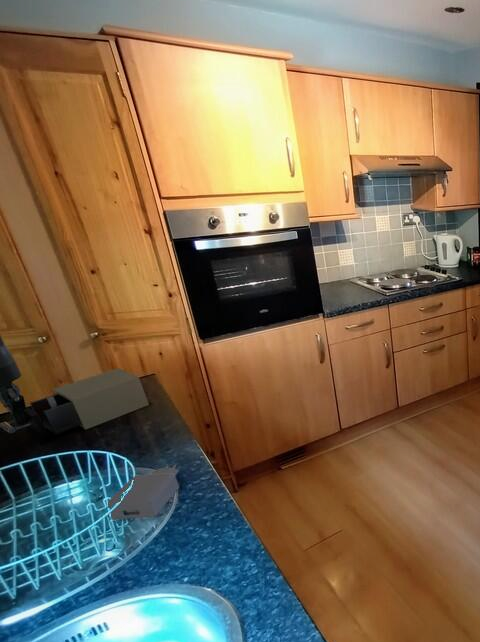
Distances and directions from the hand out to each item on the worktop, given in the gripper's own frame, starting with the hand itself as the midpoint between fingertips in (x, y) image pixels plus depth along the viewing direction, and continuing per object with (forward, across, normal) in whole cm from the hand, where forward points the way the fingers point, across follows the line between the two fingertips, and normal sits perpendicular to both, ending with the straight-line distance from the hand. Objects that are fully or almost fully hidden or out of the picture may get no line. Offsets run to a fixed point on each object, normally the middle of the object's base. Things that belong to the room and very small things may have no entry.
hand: (23, 422), depth 120 cm
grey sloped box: (+6, 0, +17) cm, 18 cm away
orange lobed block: (0, 0, +7) cm, 7 cm away
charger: (+6, +53, +6) cm, 53 cm away
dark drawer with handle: (+5, 0, +6) cm, 8 cm away
